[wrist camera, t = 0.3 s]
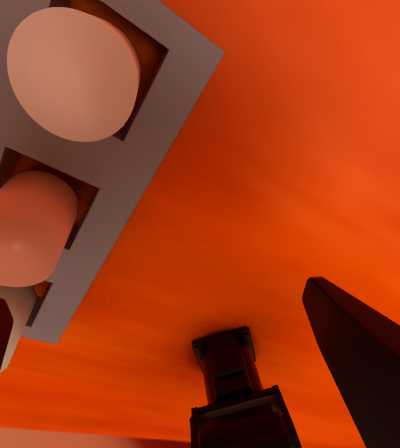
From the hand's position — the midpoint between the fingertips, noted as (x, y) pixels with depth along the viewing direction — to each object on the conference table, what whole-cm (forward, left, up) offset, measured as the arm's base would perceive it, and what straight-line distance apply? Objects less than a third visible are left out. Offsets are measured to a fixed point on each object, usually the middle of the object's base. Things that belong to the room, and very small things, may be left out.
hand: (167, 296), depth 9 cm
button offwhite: (+6, +1, -10) cm, 12 cm away
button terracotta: (0, +7, -10) cm, 13 cm away
